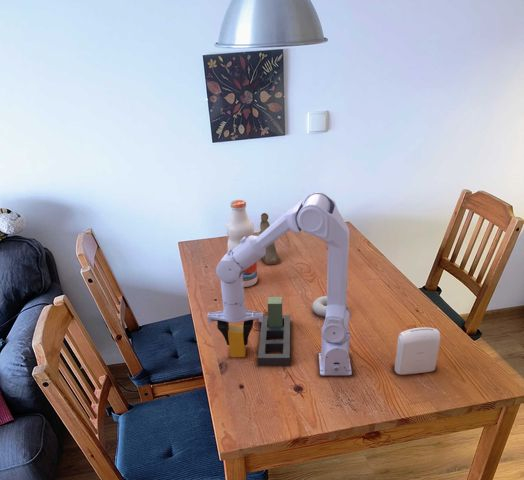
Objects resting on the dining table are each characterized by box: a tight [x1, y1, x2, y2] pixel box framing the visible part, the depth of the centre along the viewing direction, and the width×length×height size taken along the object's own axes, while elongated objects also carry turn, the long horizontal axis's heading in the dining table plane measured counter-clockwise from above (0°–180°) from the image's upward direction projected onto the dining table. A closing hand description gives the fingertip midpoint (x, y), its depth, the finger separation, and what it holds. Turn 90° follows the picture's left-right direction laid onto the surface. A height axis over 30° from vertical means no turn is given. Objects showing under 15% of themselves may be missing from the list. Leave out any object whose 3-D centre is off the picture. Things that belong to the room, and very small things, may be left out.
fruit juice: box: [225, 199, 258, 288], centre depth 160 cm, size 9×9×28 cm
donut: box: [312, 295, 327, 318], centre depth 148 cm, size 10×4×10 cm
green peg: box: [267, 296, 284, 327], centre depth 139 cm, size 4×4×10 cm
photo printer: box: [394, 326, 441, 376], centre depth 120 cm, size 10×4×12 cm, turn 96°
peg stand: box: [257, 314, 291, 366], centre depth 136 cm, size 22×8×2 cm, turn 177°
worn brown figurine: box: [258, 212, 280, 266], centre depth 180 cm, size 12×6×18 cm, turn 11°
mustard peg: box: [228, 324, 247, 358], centre depth 131 cm, size 4×4×8 cm
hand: (237, 343), depth 131 cm, fingers open, 4 cm apart
